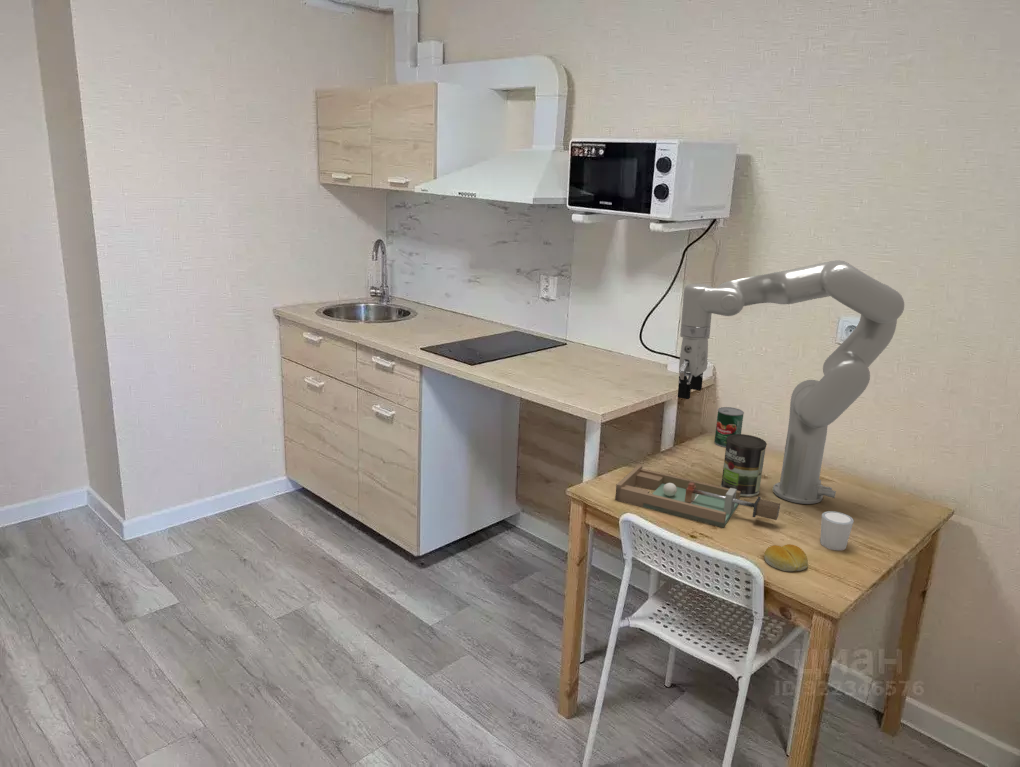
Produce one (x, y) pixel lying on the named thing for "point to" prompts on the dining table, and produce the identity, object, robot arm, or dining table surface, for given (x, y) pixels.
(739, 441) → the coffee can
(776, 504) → the kicker rod
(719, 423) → the canned tomato
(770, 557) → the bread roll
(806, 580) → the dining table surface
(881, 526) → the dining table surface
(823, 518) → the white cup
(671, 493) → the ball
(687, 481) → the pitch
